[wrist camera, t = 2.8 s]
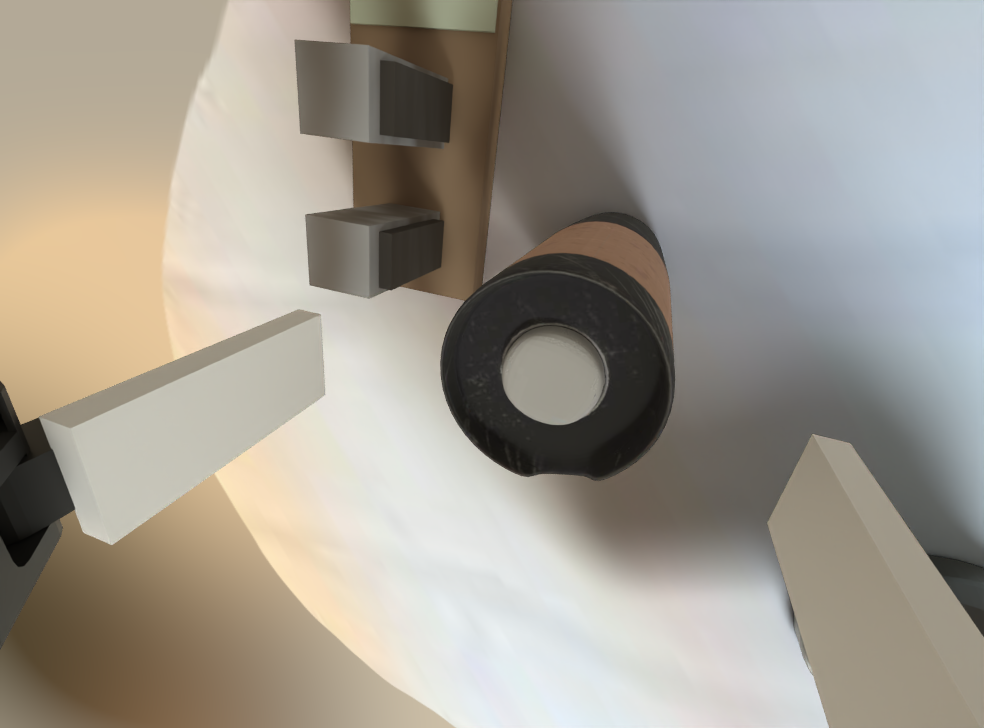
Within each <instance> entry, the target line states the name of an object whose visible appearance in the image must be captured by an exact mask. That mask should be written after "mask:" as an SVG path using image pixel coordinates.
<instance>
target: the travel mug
mask: <svg viewBox="0 0 984 728" xmlns="http://www.w3.org/2000/svg"><path fill="white" fill-rule="evenodd" d="M440 366H441V380H442V387H443V391H444V394H445V398H446V401H447V404H448V406H449V408H450V411H451V413H452V415H453V417H454V418H455V420H456V422H457V424H458V425H459V427H460V428H461V429H462V431H463V432H464V434H465V435H466V436H467V437H468V438H469V440H470V441H471V442H472V443H473V444H474V445H475V446H476V447H477V448H478V449H479V450H480V451H481V452H483V453H484V454H485V455H486V456H488V457H489V458H490V459H492V460H493V461H494V462H496V463H497V464H499V465H501V466H502V467H504V468H505V469H507V470H509V471H511V472H513V473H515V474H518V475H521V476H525V477H530V476H534V475H538V474H566V475H579V476H585V477H588V478H590V479H592V480H595V481H600V480H604V479H607V478H609V477H612V476H614V475H616V474H618V473H620V472H621V471H623V470H625V469H627V468H628V467H630V466H631V465H632V464H634V463H635V462H637V461H638V460H639V459H640V458H641V457H642V456H643V455H645V454H646V453H647V452H648V451H649V450H650V448H651V447H652V446H653V445H654V443H655V442H656V441H657V440H658V438H659V436H660V434H661V433H662V431H663V429H664V427H665V425H666V423H667V420H668V417H669V415H670V412H671V408H672V403H673V398H674V388H675V370H674V352H673V333H672V314H671V296H670V283H669V277H668V273H667V269H666V265H665V262H664V258H663V254H662V250H661V247H660V245H659V242H658V240H657V238H656V237H655V235H654V234H653V232H652V231H651V230H650V229H649V228H648V227H647V226H646V225H645V224H644V223H642V222H641V221H639V220H638V219H636V218H634V217H632V216H629V215H626V214H621V213H601V214H597V215H594V216H591V217H588V218H586V219H583V220H581V221H579V222H577V223H575V224H573V225H571V226H568V227H566V228H564V229H562V230H561V231H559V232H557V233H555V234H554V235H553V236H551V237H550V238H548V239H547V240H545V241H544V242H543V243H541V244H540V245H538V246H537V247H536V248H534V249H533V250H531V251H530V252H529V253H527V254H526V255H524V256H523V257H521V258H520V259H519V260H517V261H516V262H514V263H513V264H512V265H510V266H509V267H507V268H506V269H505V270H503V271H502V272H500V273H499V274H498V275H496V276H495V277H493V278H492V279H490V280H489V281H488V282H486V283H485V284H483V285H482V286H481V287H479V288H478V289H477V290H476V291H475V292H474V293H473V294H472V295H471V296H470V297H468V298H467V299H466V301H465V302H464V303H463V304H462V306H461V307H460V308H459V309H458V311H457V312H456V314H455V316H454V317H453V319H452V321H451V323H450V325H449V327H448V330H447V332H446V335H445V338H444V342H443V346H442V352H441V361H440Z"/></svg>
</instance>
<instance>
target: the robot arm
mask: <svg viewBox="0 0 984 728" xmlns="http://www.w3.org/2000/svg"><path fill="white" fill-rule="evenodd" d="M324 395H325V379H324V362H323V344H322V327H321V315H320V314H316V313H312V312H308V311H304V310H300V309H299V310H296V311H294V312H291V313H289V314H286V315H284V316H282V317H279V318H277V319H274V320H272V321H269V322H267V323H265V324H262V325H260V326H257V327H255V328H253V329H250V330H248V331H245V332H243V333H240V334H238V335H236V336H233V337H231V338H228V339H226V340H223V341H221V342H219V343H216V344H214V345H211V346H209V347H206V348H204V349H202V350H199V351H197V352H194V353H192V354H190V355H187V356H185V357H182V358H180V359H177V360H175V361H173V362H170V363H168V364H165V365H163V366H161V367H158V368H156V369H153V370H151V371H148V372H146V373H143V374H141V375H139V376H136V377H134V378H131V379H129V380H127V381H124V382H122V383H119V384H117V385H114V386H112V387H110V388H107V389H105V390H102V391H100V392H97V393H95V394H93V395H90V396H88V397H85V398H83V399H81V400H78V401H76V402H73V403H71V404H68V405H66V406H64V407H61V408H59V409H56V410H54V411H51V412H49V413H47V414H44V415H42V416H39V418H37V419H34V420H32V421H29V422H27V423H24V424H22V425H20V422H19V420H18V417H17V415H16V412H15V410H14V408H13V405H12V403H11V401H10V398H9V396H8V393H7V391H6V388H5V386H4V385H3V384H2V383H1V381H0V649H1V647H2V645H3V643H4V641H5V640H6V638H7V636H8V634H9V632H10V630H11V628H12V627H13V624H14V623H15V621H16V619H17V617H18V615H19V614H20V612H21V610H22V608H23V606H24V604H25V602H26V600H27V599H28V597H29V595H30V593H31V591H32V589H33V587H34V585H35V584H36V582H37V580H38V578H39V576H40V574H41V572H42V571H43V569H44V567H45V565H46V563H47V561H48V559H49V557H50V556H51V554H52V552H53V550H54V548H55V546H56V544H57V543H58V541H59V539H60V537H61V534H62V529H63V527H62V524H61V522H60V520H59V519H60V518H62V517H63V516H65V515H67V514H68V513H70V512H72V511H73V510H75V512H76V515H77V517H78V520H79V522H80V525H81V527H82V530H83V532H84V533H86V534H88V535H90V536H92V537H95V538H97V539H99V540H102V541H104V542H106V543H108V544H111V545H113V544H114V543H116V542H117V541H118V540H120V539H121V538H123V537H124V536H125V535H127V534H128V533H130V532H131V531H133V530H134V529H135V528H137V527H138V526H140V525H141V524H143V523H144V522H145V521H147V520H148V519H150V518H151V517H152V516H154V515H155V514H157V513H158V512H159V511H161V510H162V509H164V508H165V507H167V506H168V505H170V504H171V503H172V502H174V501H175V500H177V499H178V498H179V497H181V496H182V495H184V494H185V493H187V492H188V491H189V490H191V489H192V488H194V487H195V486H197V485H198V484H199V483H201V482H202V481H204V480H205V479H206V478H208V477H209V476H211V475H212V474H214V473H215V472H216V471H218V470H219V469H221V468H222V467H224V466H225V465H226V464H228V463H229V462H231V461H232V460H233V459H235V458H236V457H238V456H239V455H241V454H242V453H243V452H245V451H246V450H248V449H249V448H251V447H252V446H253V445H255V444H256V443H258V442H259V441H260V440H262V439H263V438H265V437H266V436H268V435H269V434H270V433H272V432H273V431H275V430H276V429H278V428H279V427H280V426H282V425H283V424H285V423H286V422H287V421H289V420H290V419H292V418H293V417H295V416H296V415H297V414H299V413H300V412H302V411H303V410H305V409H306V408H307V407H309V406H310V405H312V404H313V403H314V402H316V401H317V400H319V399H320V398H322V397H323V396H324ZM767 525H768V528H769V532H770V535H771V538H772V541H773V545H774V548H775V551H776V555H777V558H778V561H779V564H780V568H781V571H782V574H783V578H784V581H785V584H786V587H787V591H788V594H789V597H790V601H791V604H792V607H793V610H794V614H795V615H794V627H795V632H796V635H797V639H798V642H799V645H800V649H801V652H802V655H803V658H804V660H805V662H806V665H807V667H808V669H809V670H810V672H811V673H812V675H813V676H814V679H815V683H816V686H817V689H818V692H819V696H820V699H821V702H822V706H823V709H824V712H825V715H826V719H827V722H828V725H829V728H984V569H983V568H981V567H978V566H975V565H972V564H969V563H965V562H962V561H958V560H953V559H948V558H942V557H936V556H928V555H927V554H926V553H925V551H924V550H923V548H922V547H921V545H920V544H919V542H918V541H917V539H916V538H915V537H914V535H913V534H912V532H911V531H910V529H909V528H908V526H907V525H906V523H905V522H904V521H903V519H902V518H901V516H900V515H899V513H898V512H897V510H896V509H895V507H894V506H893V505H892V503H891V502H890V500H889V499H888V497H887V496H886V494H885V493H884V491H883V490H882V489H881V487H880V486H879V484H878V483H877V481H876V480H875V478H874V477H873V475H872V474H871V473H870V471H869V470H868V468H867V467H866V465H865V464H864V462H863V461H862V459H861V458H860V457H859V455H858V454H857V452H856V451H855V449H854V448H853V446H852V445H851V443H848V442H844V441H839V440H835V439H831V438H827V437H823V436H819V435H815V434H812V436H811V437H810V439H809V441H808V443H807V445H806V447H805V449H804V451H803V453H802V455H801V457H800V459H799V461H798V463H797V465H796V467H795V469H794V471H793V473H792V475H791V477H790V479H789V481H788V483H787V485H786V487H785V489H784V491H783V493H782V495H781V497H780V499H779V501H778V503H777V505H776V507H775V509H774V511H773V513H772V514H771V516H770V518H769V520H768V522H767Z"/></svg>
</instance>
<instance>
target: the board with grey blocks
mask: <svg viewBox="0 0 984 728" xmlns="http://www.w3.org/2000/svg"><path fill="white" fill-rule="evenodd" d="M511 9H512V0H350V29H351V44H346V43H333V42H319V41H306V40H295V54H296V70H297V87H298V103H299V119H300V134H307V135H315V136H322V137H330V138H337V139H345V140H352V146H353V204H354V208H350V209H343V210H335V211H328V212H320V213H313V214H306V215H305V217H306V233H307V250H308V266H309V282H310V285H311V286H316V287H320V288H325V289H329V290H333V291H338V292H342V293H346V294H351V295H355V296H360V297H364V298H368V299H370V298H372V297H374V296H376V295H378V294H381V293H383V292H385V291H387V290H393V289H395V288H397V287H405V288H410V289H414V290H419V291H423V292H428V293H433V294H437V295H442V296H447V297H451V298H456V299H460V300H465V301H466V299H467V298H468V297H470V296H471V295H472V294H473V293H474V292H475V291H476V290H477V289H478V288H479V287H481V286H482V281H483V272H484V262H485V253H486V244H487V234H488V225H489V215H490V206H491V197H492V187H493V178H494V169H495V159H496V150H497V140H498V131H499V122H500V112H501V103H502V94H503V84H504V75H505V65H506V56H507V47H508V37H509V28H510V19H511Z"/></svg>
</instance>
